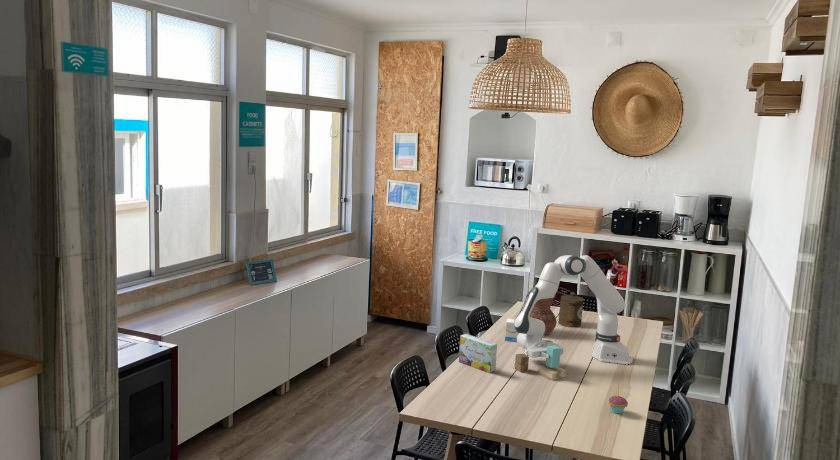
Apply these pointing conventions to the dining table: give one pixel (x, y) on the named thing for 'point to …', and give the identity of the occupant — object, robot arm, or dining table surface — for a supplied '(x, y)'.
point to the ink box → (510, 331)
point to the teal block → (553, 356)
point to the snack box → (478, 353)
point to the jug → (544, 313)
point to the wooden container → (570, 310)
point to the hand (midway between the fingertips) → (554, 356)
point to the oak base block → (551, 372)
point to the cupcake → (617, 403)
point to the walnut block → (521, 362)
